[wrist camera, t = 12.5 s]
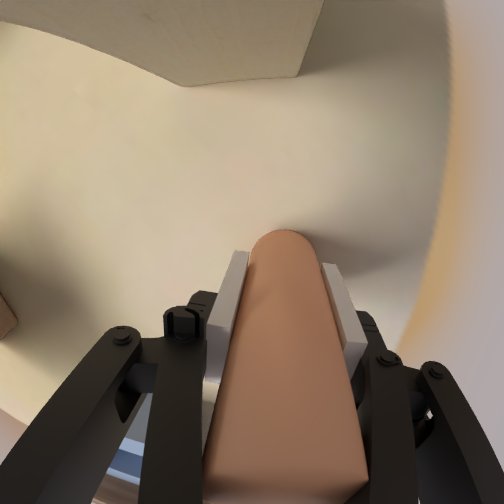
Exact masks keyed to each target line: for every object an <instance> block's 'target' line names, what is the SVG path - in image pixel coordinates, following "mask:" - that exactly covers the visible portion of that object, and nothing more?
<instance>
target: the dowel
mask: <svg viewBox="0 0 504 504" xmlns="http://www.w3.org/2000/svg"><path fill="white" fill-rule="evenodd" d="M368 481H369V476H368V468H367V462H366V456H365V451H364V446H363V440H362V435H361V430H360V425H359V420H358V415H357V411H356V406H355V401H354V397H353V392H352V388H351V383H350V379H349V375H348V371H347V367H346V362H345V358H344V354H343V350H342V346H341V342H340V339H339V335H338V331H337V327H336V323H335V320H334V316H333V312H332V309H331V305H330V301H329V298H328V294H327V291H326V287H325V284H324V280H323V277H322V274H321V270H320V267H319V264H318V260H317V257H316V254H315V251H314V248H313V246H312V245H311V243H310V242H309V241H308V240H307V239H306V238H305V237H304V236H302V235H301V234H299V233H297V232H294V231H290V230H277V231H273V232H270V233H268V234H266V235H264V236H263V237H262V238H261V239H259V240H258V242H257V243H256V244H255V246H254V248H253V250H252V252H251V256H250V261H249V265H248V269H247V274H246V278H245V282H244V286H243V290H242V295H241V299H240V303H239V307H238V311H237V316H236V320H235V324H234V328H233V332H232V337H231V341H230V345H229V349H228V353H227V356H226V361H225V365H224V369H223V373H222V377H221V381H220V386H219V390H218V394H217V398H216V402H215V407H214V411H213V415H212V419H211V423H210V427H209V432H208V436H207V440H206V444H205V448H204V453H203V457H202V489H203V499H204V500H205V501H207V502H208V503H210V504H344V503H345V502H346V501H347V500H348V499H349V498H351V497H352V496H353V495H354V494H355V493H356V492H357V491H358V490H359V489H361V488H362V487H363V486H364V485H365V484H366V483H367V482H368Z"/></svg>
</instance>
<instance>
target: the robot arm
mask: <svg viewBox="0 0 504 504" xmlns="http://www.w3.org/2000/svg"><path fill="white" fill-rule="evenodd" d="M249 253H250V252H245V251H238V250H235V251H234V254H233V256H232V259H231V261H230V264H229V267H228V269H227V272H226V274H225V277H224V280H223V282H222V285H221V287H220V290H219V293H213V292H207V291H201V290H200V291H198V292H197V293H195V294H193V295H192V297H191V298H190V300H189V303H188V304H187V306H176V307H172V308H170V309H168V310H167V311H166V312H165V313H164V315H163V322H164V337H160V338H141V335H140V333H139V332H138V331H137V330H136V329H134V328H132V327H129V326H116V327H114V328H111V329H109V330H108V331H107V332H106V333H105V334H104V335H103V336H102V337H101V338H100V339H99V341H98V342H97V343H96V344H95V345H94V346H93V347H92V349H91V350H90V351H89V352H88V353H87V354H86V356H85V357H84V358H83V359H82V360H81V361H80V363H79V364H78V365H77V366H76V367H75V369H74V370H73V371H72V372H71V373H70V375H69V376H68V377H67V378H66V379H65V381H64V382H63V383H62V384H61V386H60V387H59V388H58V389H57V391H56V392H55V393H54V394H53V396H52V397H51V398H50V399H49V401H48V402H47V403H46V404H45V406H44V407H43V408H42V409H41V411H40V412H39V413H38V415H37V416H36V417H35V418H34V420H33V421H32V422H31V424H30V425H29V426H28V428H27V429H26V430H25V432H24V433H23V434H22V436H21V437H20V438H19V440H18V441H17V443H16V444H15V445H14V447H13V448H12V449H11V451H10V452H9V454H8V455H7V457H6V458H5V459H4V461H3V462H2V464H1V465H0V504H91V502H92V500H93V498H94V496H95V494H96V492H97V490H98V488H99V486H100V484H101V482H102V480H103V478H104V476H105V474H106V472H107V470H108V468H109V466H110V464H111V462H112V460H113V458H114V457H115V455H116V453H117V451H118V449H119V447H120V445H121V443H122V441H123V439H124V437H125V436H126V434H127V432H128V430H129V428H130V426H131V424H132V422H133V420H134V419H135V417H136V415H137V413H138V411H139V409H140V407H141V406H142V404H143V402H144V400H145V398H146V396H147V394H148V393H153V395H152V400H151V406H150V412H149V418H148V424H147V431H146V437H145V444H144V451H143V459H142V467H141V475H140V484H139V493H138V504H203V489H202V388H203V379H204V376H205V381H206V382H211V383H217V384H220V381H221V377H222V373H223V369H224V365H225V361H226V356H227V353H228V349H229V345H230V341H231V337H232V332H233V328H234V324H235V320H236V316H237V311H238V307H239V303H240V299H241V295H242V290H243V286H244V282H245V278H246V274H247V269H248V261H249ZM321 274H322V277H323V280H324V284H325V287H326V291H327V294H328V298H329V301H330V305H331V309H332V312H333V316H334V320H335V323H336V327H337V331H338V335H339V339H340V342H341V346H342V350H343V354H344V358H345V362H346V367H347V371H348V375H349V379H350V383H351V388H352V392H353V397H354V401H355V406H356V411H357V415H358V420H359V425H360V430H361V435H362V440H363V446H364V451H365V456H366V462H367V468H368V476H369V481H368V482H367V483H366V484H365V485H364V486H363V487H362V488H361V489H359V490H358V491H357V492H356V493H355V494H354V495H353V496H352V497H351V498H349V499H348V500H347V501H346V502H345V503H344V504H418V497H419V500H420V504H504V472H503V470H502V468H501V465H500V463H499V461H498V459H497V457H496V455H495V453H494V451H493V449H492V447H491V444H490V443H489V441H488V439H487V437H486V435H485V433H484V431H483V429H482V427H481V425H480V423H479V422H478V420H477V418H476V416H475V414H474V412H473V410H472V409H471V407H470V405H469V403H468V402H467V400H466V398H465V397H464V395H463V393H462V391H461V390H460V389H459V387H458V385H457V383H456V381H455V380H454V378H453V376H452V375H451V373H450V372H449V371H448V369H447V368H446V367H445V366H443V365H442V364H441V363H438V362H435V361H428V362H425V363H424V364H423V365H422V366H421V368H420V370H418V369H414V368H410V367H407V366H404V365H403V363H402V361H401V359H400V357H399V356H398V355H397V354H396V353H394V352H392V351H390V350H387V348H386V345H385V343H384V341H383V339H382V336H381V334H380V333H379V330H378V327H376V326H377V325H376V323H375V321H374V319H373V317H372V316H370V315H369V314H368V313H367V312H366V311H356V310H355V308H354V306H353V303H352V301H351V298H350V296H349V293H348V291H347V288H346V286H345V284H344V281H343V279H342V277H341V274H340V272H339V269H338V267H337V265H336V264H330V263H323V262H322V267H321ZM429 411H431V413H432V415H433V416H432V418H431V419H429V417H428V416H427V413H428V412H429Z"/></svg>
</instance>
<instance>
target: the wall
mask: <svg viewBox="0 0 504 504" xmlns="http://www.w3.org/2000/svg"><path fill="white" fill-rule="evenodd" d="M138 493H139V485H137V484H134V483H131V482H128V481H125V480H122V479H119V478H117V477H114V476H112V475H109V474H105V476H104V478H103V480H102V482H101V484H100V486H99V488H98V490H97V492H96V494H95V496H94V498H93V500H92V502H94V503H96V504H138ZM203 504H210V503H208V502H207V501H205V500H204V499H203Z"/></svg>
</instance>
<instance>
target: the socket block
mask: <svg viewBox="0 0 504 504" xmlns="http://www.w3.org/2000/svg"><path fill="white" fill-rule="evenodd" d="M152 395H153V393H148V394H147V396H146V398H145V400H144V402H143V404H142V406H141V407H140V409H139V411H138V413H137V415H136V417H135V419H134V420H133V422H132V424H131V426H130V428H129V430H128V432H127V434H126V436H125V437H124V439H123V441H122V443H121V445H120V447H119V449H118V451H117V453H116V455H115V457H114V458H113V460H112V462H111V464H110V466H109V468H108V470H107V472H106V474H109V475H112V476H114V477H117V478H119V479H122V480H125V481H128V482H131V483H134V484H137V485H139V484H140V475H141V467H142V459H143V451H144V444H145V437H146V431H147V424H148V418H149V412H150V406H151V400H152Z"/></svg>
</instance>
